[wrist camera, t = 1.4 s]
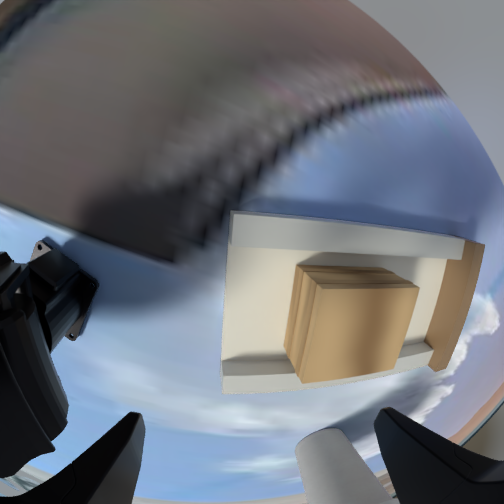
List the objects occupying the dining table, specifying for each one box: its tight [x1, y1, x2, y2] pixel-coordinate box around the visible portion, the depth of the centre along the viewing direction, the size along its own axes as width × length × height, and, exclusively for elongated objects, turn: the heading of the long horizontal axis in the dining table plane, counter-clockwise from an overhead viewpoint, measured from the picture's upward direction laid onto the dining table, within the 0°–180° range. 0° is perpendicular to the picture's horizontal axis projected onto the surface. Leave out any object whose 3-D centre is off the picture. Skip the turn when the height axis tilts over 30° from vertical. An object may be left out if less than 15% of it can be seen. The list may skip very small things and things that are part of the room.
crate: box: [283, 264, 420, 384], centre depth 19 cm, size 8×7×5 cm
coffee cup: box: [295, 428, 400, 504], centre depth 20 cm, size 10×10×15 cm
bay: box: [220, 210, 485, 394], centre depth 21 cm, size 24×14×4 cm, turn 85°
